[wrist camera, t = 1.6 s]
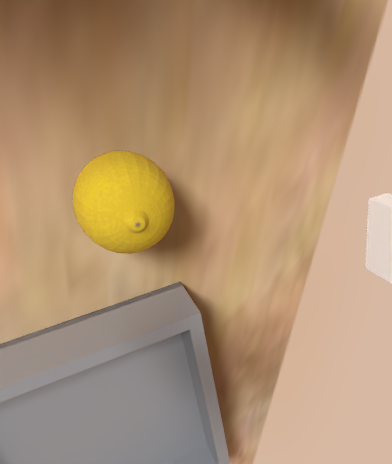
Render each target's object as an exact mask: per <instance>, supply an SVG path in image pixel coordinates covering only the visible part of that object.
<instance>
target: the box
mask: <svg viewBox="0 0 392 464" xmlns="http://www.w3.org/2000/svg"><path fill="white" fill-rule="evenodd" d="M0 464H230V459H229V454H228V449H227V444H226V439H225V434H224V429H223V424H222V418H221V413H220V408H219V403H218V398H217V393H216V388H215V383H214V378H213V373H212V368H211V363H210V358H209V353H208V348H207V343H206V338H205V333H204V327H203V322H202V317H201V313H200V311H199V310H198V308H197V307H196V305H195V303H194V302H193V300H192V299H191V297H190V296H189V294H188V293H187V291H186V290H185V288H184V286H183V285H182V283H181V282H179V283H176V284H173V285H170V286H167V287H164V288H161V289H158V290H155V291H153V292H150V293H147V294H144V295H141V296H138V297H135V298H132V299H130V300H127V301H124V302H121V303H118V304H115V305H112V306H109V307H107V308H104V309H101V310H98V311H95V312H92V313H89V314H86V315H83V316H81V317H78V318H75V319H72V320H69V321H66V322H63V323H60V324H58V325H55V326H52V327H49V328H46V329H43V330H40V331H37V332H34V333H32V334H29V335H26V336H23V337H20V338H17V339H14V340H11V341H9V342H6V343H3V344H0Z"/></svg>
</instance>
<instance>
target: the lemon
mask: <svg viewBox="0 0 392 464" xmlns="http://www.w3.org/2000/svg"><path fill="white" fill-rule="evenodd" d="M73 207H74V211H75V215H76V219H77V220H78V222H79V224H80V226H81V227H82V229H83V231H84V232H85V233H86V234H87V235H88V236H89V237H90V238H91V239H92V240H93V241H94V242H95V243H96V244H98V245H100V246H102V247H103V248H105V249H107V250H110V251H114V252H117V253H130V254H131V253H136V252H141V251H144V250H146V249H148V248H151V247H152V246H153V245H155V244H156V243H158V242H159V241H160V240H161V239H162V238H163V237H164V235H165V234H166V233H167V231H168V229H169V227H170V225H171V223H172V220H173V216H174V195H173V191H172V187H171V185H170V183H169V181H168V179H167V177H166V175H165V174H164V172H163V171H162V170H161V169H160V168H159V167H158V166H157V165H156V164H155V163H154V162H153V161H151V160H149V159H148V158H146V157H144V156H143V155H140V154H137V153H133V152H130V151H113V152H109V153H104V154H102V155H100V156H98V157H96V158H94V159H93V160H92V161H91V162H89V163H88V164H87V165H86V166H85V167H84V168H83V170H82V171H81V173H80V174H79V176H78V177H77V180H76V184H75V187H74V190H73Z"/></svg>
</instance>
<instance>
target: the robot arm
mask: <svg viewBox="0 0 392 464" xmlns="http://www.w3.org/2000/svg"><path fill="white" fill-rule="evenodd" d="M366 242H367V243H366V260H365V268H366V269H367V270H369V271H371V272H372V273H374V274H376V275H377V276H379V277H381V278H383V279H384V280H386V281H388V282H389V283H391V284H392V194H388V193H386V194H382V195H379V196H376V197H373V198H370V199H369V204H368V222H367V241H366Z"/></svg>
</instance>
